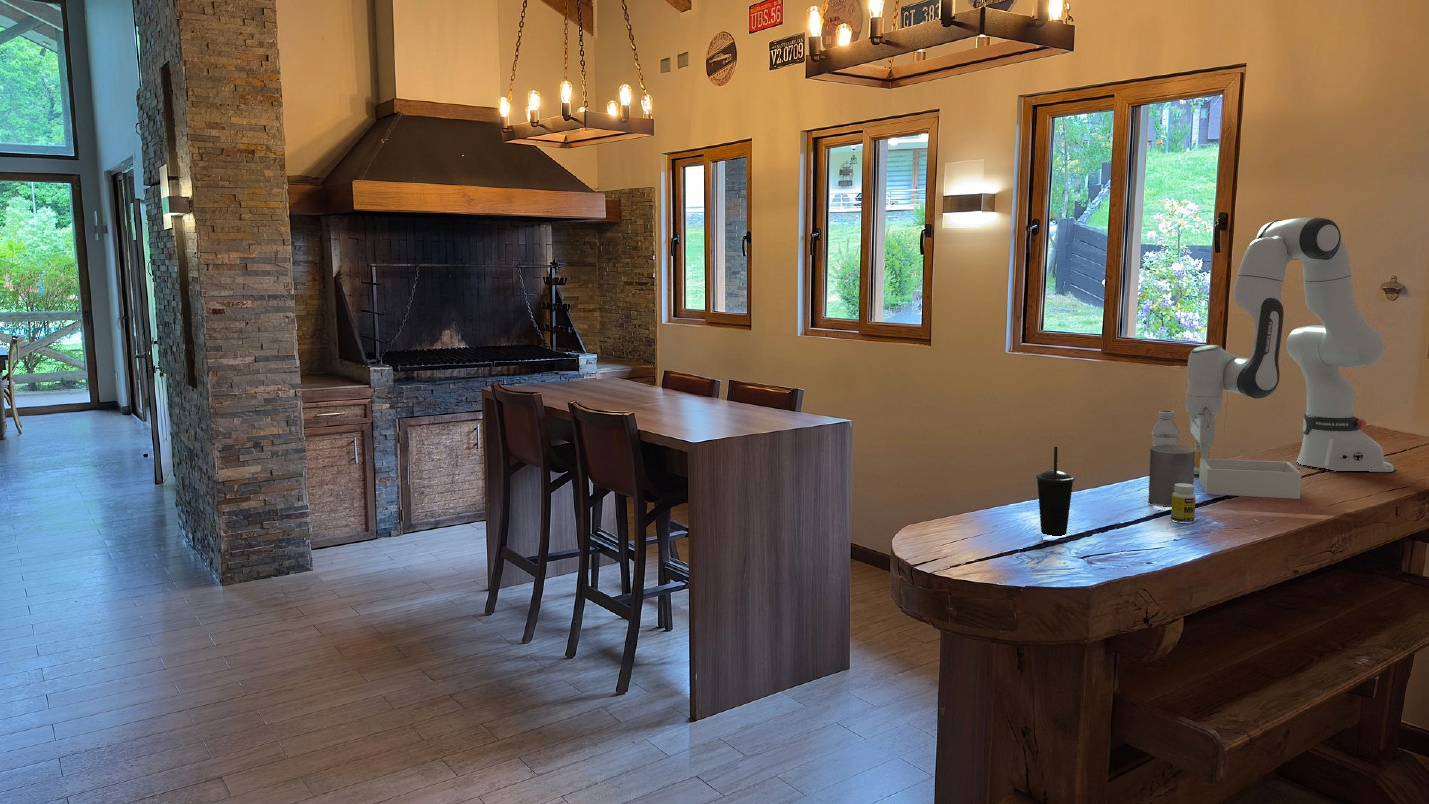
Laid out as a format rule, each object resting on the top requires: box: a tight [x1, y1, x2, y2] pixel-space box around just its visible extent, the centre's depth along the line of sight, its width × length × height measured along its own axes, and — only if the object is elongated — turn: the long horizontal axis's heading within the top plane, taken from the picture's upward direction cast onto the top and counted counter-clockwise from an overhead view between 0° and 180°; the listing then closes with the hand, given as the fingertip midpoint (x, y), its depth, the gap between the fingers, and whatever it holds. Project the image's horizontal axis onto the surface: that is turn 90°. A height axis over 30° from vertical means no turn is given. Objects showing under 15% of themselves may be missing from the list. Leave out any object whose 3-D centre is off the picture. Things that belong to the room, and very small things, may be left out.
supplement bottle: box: [1170, 483, 1197, 523], centre depth 212 cm, size 5×5×8 cm
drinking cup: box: [1035, 446, 1076, 536], centre depth 200 cm, size 8×8×20 cm
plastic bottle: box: [1151, 409, 1180, 447], centre depth 243 cm, size 6×7×20 cm
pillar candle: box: [1147, 443, 1195, 507], centre depth 227 cm, size 10×10×15 cm
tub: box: [1198, 458, 1302, 500], centre depth 237 cm, size 20×14×7 cm
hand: (1201, 455), depth 259 cm, fingers open, 8 cm apart
